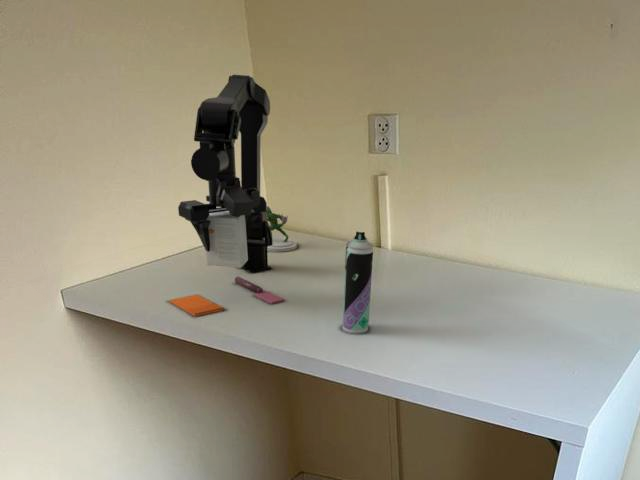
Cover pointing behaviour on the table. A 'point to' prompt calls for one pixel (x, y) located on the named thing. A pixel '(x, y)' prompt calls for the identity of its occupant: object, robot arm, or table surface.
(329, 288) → the table surface
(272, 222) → the monster figurine
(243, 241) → the small box
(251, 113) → the robot arm
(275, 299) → the spatula
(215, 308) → the orange flat block
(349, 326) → the spray can
